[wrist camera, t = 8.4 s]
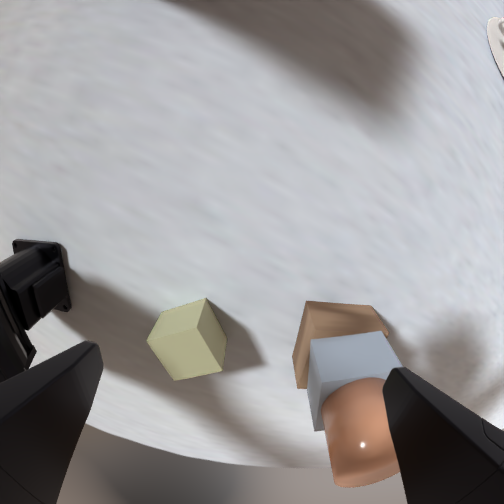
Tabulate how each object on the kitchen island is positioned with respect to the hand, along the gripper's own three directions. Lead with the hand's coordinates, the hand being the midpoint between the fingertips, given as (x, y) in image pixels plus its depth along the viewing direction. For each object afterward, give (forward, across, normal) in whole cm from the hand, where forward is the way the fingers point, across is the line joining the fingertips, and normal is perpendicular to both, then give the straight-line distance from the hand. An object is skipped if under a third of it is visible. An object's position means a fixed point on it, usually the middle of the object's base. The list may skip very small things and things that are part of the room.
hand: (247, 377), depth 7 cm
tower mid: (+9, -7, +7) cm, 13 cm away
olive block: (+13, +4, +7) cm, 15 cm away
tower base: (+13, -7, +7) cm, 16 cm away
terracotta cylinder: (+5, -7, +7) cm, 11 cm away
